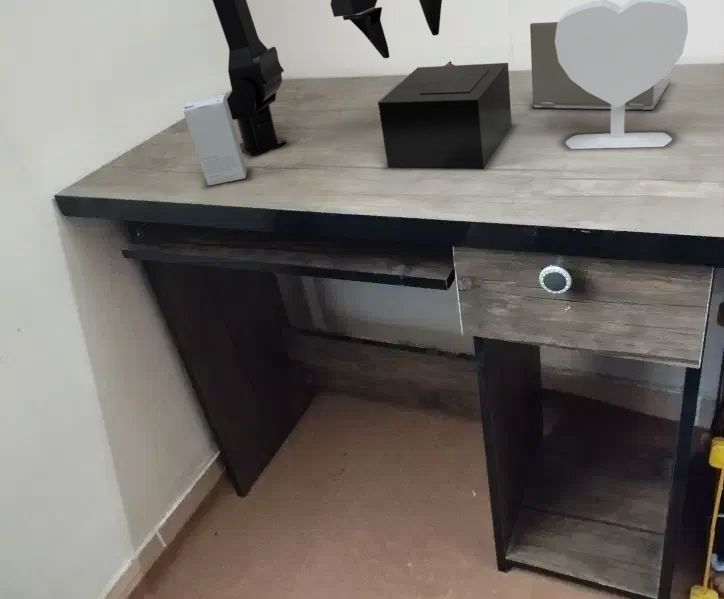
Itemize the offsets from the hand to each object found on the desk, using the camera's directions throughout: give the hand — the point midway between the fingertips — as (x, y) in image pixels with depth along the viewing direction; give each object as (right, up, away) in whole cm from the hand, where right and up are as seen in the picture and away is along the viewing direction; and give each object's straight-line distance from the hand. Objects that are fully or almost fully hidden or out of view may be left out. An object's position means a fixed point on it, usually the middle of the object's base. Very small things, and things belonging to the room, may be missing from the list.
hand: (411, 46), depth 103 cm
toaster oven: (+6, -13, +4) cm, 15 cm away
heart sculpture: (+28, -15, -5) cm, 32 cm away
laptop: (+31, -4, +11) cm, 33 cm away
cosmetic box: (-28, -18, +7) cm, 34 cm away
